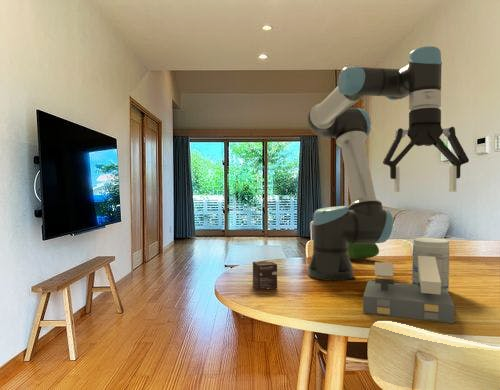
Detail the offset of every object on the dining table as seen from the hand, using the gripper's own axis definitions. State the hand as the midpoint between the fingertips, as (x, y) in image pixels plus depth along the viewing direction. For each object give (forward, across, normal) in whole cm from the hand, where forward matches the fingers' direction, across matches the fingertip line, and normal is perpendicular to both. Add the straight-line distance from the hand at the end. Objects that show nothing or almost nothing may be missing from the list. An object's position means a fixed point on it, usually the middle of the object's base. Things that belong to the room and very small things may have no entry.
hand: (424, 191), depth 95 cm
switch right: (+21, -1, -6) cm, 22 cm away
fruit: (+29, -9, +57) cm, 64 cm away
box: (+29, -43, +7) cm, 52 cm away
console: (+29, -6, -6) cm, 30 cm away
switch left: (+21, -11, -5) cm, 24 cm away
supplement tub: (+29, +5, +12) cm, 32 cm away
